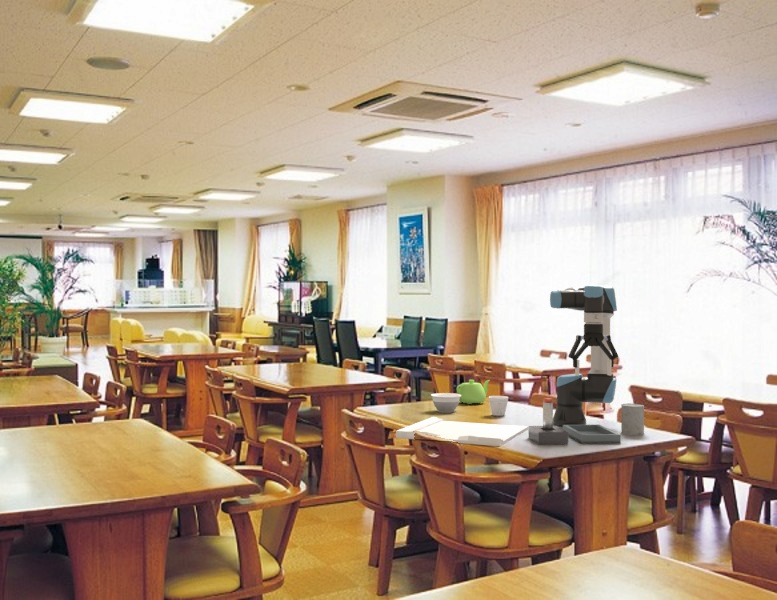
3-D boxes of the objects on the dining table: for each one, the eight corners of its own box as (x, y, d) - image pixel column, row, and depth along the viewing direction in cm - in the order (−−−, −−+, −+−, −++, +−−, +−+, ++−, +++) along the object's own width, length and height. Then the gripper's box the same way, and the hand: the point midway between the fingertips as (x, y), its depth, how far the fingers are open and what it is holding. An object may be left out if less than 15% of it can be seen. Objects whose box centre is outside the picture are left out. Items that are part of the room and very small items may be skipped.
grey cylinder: (645, 435, 340) (645, 406, 340) (622, 434, 342) (622, 406, 342) (642, 431, 349) (642, 403, 349) (620, 431, 351) (620, 403, 351)
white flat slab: (528, 430, 356) (528, 422, 356) (500, 447, 315) (500, 438, 315) (434, 424, 375) (434, 416, 375) (396, 439, 334) (396, 430, 334)
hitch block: (528, 437, 334) (528, 425, 334) (556, 437, 335) (556, 425, 335) (538, 444, 318) (538, 432, 318) (568, 444, 319) (568, 432, 319)
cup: (506, 417, 392) (506, 398, 392) (486, 416, 395) (486, 397, 395) (510, 414, 401) (510, 396, 401) (490, 413, 404) (490, 395, 404)
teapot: (483, 400, 456) (483, 377, 456) (497, 403, 442) (497, 380, 442) (449, 402, 447) (449, 379, 447) (462, 405, 433) (462, 381, 433)
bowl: (467, 411, 411) (467, 395, 411) (445, 414, 401) (445, 397, 401) (446, 408, 423) (446, 392, 423) (424, 411, 413) (424, 394, 413)
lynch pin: (541, 440, 328) (541, 398, 328) (551, 440, 329) (551, 398, 329) (544, 442, 324) (544, 399, 324) (554, 441, 325) (554, 399, 325)
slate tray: (562, 432, 346) (562, 424, 346) (598, 432, 348) (598, 424, 347) (581, 443, 320) (581, 435, 320) (620, 443, 322) (620, 434, 322)
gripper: (566, 323, 319) (566, 376, 319) (626, 323, 322) (626, 376, 322) (560, 323, 326) (560, 374, 326) (618, 322, 329) (618, 374, 329)
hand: (593, 375), depth 324 cm, fingers open, 13 cm apart
